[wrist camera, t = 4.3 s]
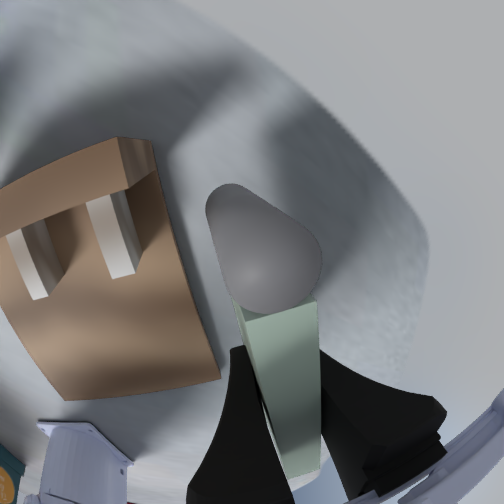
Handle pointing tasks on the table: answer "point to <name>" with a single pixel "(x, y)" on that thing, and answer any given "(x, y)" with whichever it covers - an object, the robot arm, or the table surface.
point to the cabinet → (100, 276)
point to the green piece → (274, 314)
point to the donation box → (9, 476)
